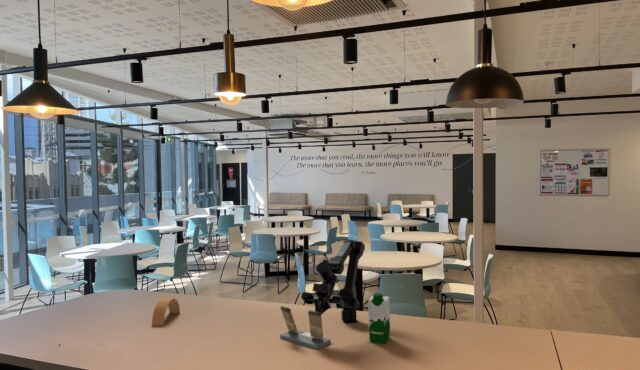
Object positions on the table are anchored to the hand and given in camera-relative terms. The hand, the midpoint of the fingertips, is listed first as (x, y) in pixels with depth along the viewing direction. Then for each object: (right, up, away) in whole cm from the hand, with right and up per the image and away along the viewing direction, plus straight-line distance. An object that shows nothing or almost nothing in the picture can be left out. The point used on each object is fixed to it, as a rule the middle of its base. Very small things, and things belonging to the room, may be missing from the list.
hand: (316, 317), depth 186 cm
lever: (-10, -9, +9) cm, 16 cm away
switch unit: (-5, -11, +5) cm, 13 cm away
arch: (-75, -12, +38) cm, 85 cm away
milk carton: (+27, -11, +4) cm, 29 cm away
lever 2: (0, -9, +1) cm, 9 cm away
